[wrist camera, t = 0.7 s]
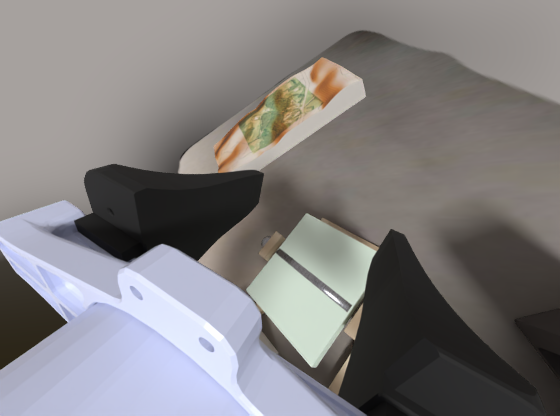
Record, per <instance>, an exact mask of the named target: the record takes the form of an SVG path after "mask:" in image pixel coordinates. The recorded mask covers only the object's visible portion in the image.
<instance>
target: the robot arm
mask: <svg viewBox="0 0 560 416" xmlns="http://www.w3.org/2000/svg"><path fill="white" fill-rule="evenodd" d="M263 176H264V173H262V172H259V171H257V170H241V171H233V172H224V173H212V174H174V173H162V172H153V171H148V170H141V169H136V168H131V167H126V166H122V165H117V164H111V165H107V166H104V167H100V168H96V169H92V170H89V171H88V172H87V173H86V175H85V178H84V183H85V188H86V192H87V195H88V198H89V201H90V204H91V208H92V211H93V212H94V213H91V214H89V215H86V216H85V214H84V213H83V211H81V210H80V209H79V208H77V207H76V206H74V205H73V204H71V203H70V202H68V201H66V200H63V201H60V202H57V203H54V204H51V205H48V206H45V207H42V208H39V209H36V210H33V211H30V212H27V213H24V214H21V215H18V216H15V217H12V218H9V219H7V220H3V221H0V250H1V251H2V253H3V254H4V256H5V257H6V258H7V260H8V261H9V263H10V264H11V266H12V267H13V269H14V270H15V271H16V272H17V273H18V274H19V275H20V276H21V277H22V278H23V279H24V280H25V281H26V282H28V283H29V284H30V285H31V286H32V287H33V288H34V289H35V290H36V291H37V292H38V293H39V294H40V295H41V296H42V297H43V298H44V299H45V300H46V301H48V303H49V304H50V305H51V306H52V307H53V308H54V309H55V310H56V311H57V312H58V313H59V314H60V315H61V316H62V317H63V318H64V319H65V320H66V321H67V322H68V323H67V324H66V325H64V326H63V327H62V328H60V329H59V330H57V331H56V332H54V333H53V334H52V335H50V336H49V337H47V338H46V339H44V340H43V341H42V342H40V343H39V344H37V345H36V346H34V347H33V348H31V349H30V350H29V351H27V352H26V353H24V354H23V355H21V356H20V357H19V358H17V359H16V360H14V361H13V362H11V363H10V364H9V365H7V366H6V367H4V368H3V369H1V370H0V416H547V414H546V412H545V409H544V407H543V405H542V402H541V400H540V397H539V395H538V393H537V390H536V388H535V387H533V386H532V385H531V384H530V383H529V382H528V381H527V380H525V379H524V378H523V377H522V376H521V375H520V374H518V373H517V372H516V371H515V370H514V369H513V368H512V367H510V366H509V365H508V364H507V363H506V362H505V361H504V360H502V359H501V358H500V357H499V356H498V355H497V354H496V353H495V352H494V351H493V350H492V349H491V348H490V347H488V346H487V345H486V344H485V343H484V342H483V341H482V340H481V339H480V338H479V337H478V336H477V335H476V334H475V333H474V332H473V331H472V330H471V329H470V328H469V327H468V326H467V325H466V323H465V322H464V321H463V320H462V319H461V318H460V317H459V316H458V315H457V314H456V312H455V311H454V310H453V309H452V308H451V307H450V305H449V304H448V303H447V302H446V301H445V299H444V298H443V297H442V295H441V294H440V293H439V292H438V290H437V289H436V288H435V286H434V285H433V283H432V282H431V280H430V279H429V277H428V276H427V274H426V273H425V271H424V269H423V268H422V266H421V265H420V263H419V261H418V259H417V257H416V256H415V254H414V252H413V250H412V248H411V246H410V244H409V243H408V241H407V239H406V237H405V235H404V234H402V233H399V232H397V231H395V230H392V229H391V230H390V231H389V233H388V235H387V236H386V238H385V239H384V241H383V242H382V244H381V245H380V247H379V249H378V250H377V252H376V253H375V255H374V256H373V258H372V261H371V264H370V267H369V271H368V274H367V280H366V287H365V293H364V300H363V307H362V313H361V318H360V323H359V327H358V330H357V334H356V338H355V341H354V345H353V348H352V351H351V355H350V358H349V362H348V365H347V368H346V371H345V374H344V378H343V381H342V384H341V387H340V390H339V393H338V395H336V394H335V393H333V392H332V391H330V390H329V389H327V388H326V387H325V386H323V385H322V384H320V383H319V382H317V381H316V380H314V379H313V378H311V377H310V376H308V375H307V374H305V373H304V372H302V371H301V370H299V369H298V368H296V367H295V366H294V365H292V364H291V363H289V362H288V361H286V360H285V359H283V358H282V357H280V356H279V355H277V354H276V353H274V352H273V351H271V350H270V349H269V348H268V347H267V346H266V345H265V344H264V343H263V342H262V341H261V340H260V339H259V336H260V333H261V330H262V319H261V313H260V311H259V309H258V307H257V306H256V304H255V303H254V301H253V299H252V298H251V297H250V296H249V295H248V294H246V293H245V292H244V291H243V290H242V289H240V288H239V287H238V286H236V285H235V284H233V283H232V282H230V281H228V280H227V279H225V278H223V277H222V276H220V275H219V274H217V273H215V272H214V271H212V270H211V269H209V268H207V267H206V266H204V265H202V264H201V263H199V262H198V260H199V259H200V258H201V257H202V256H203V255H204V254H205V252H206V251H207V250H208V249H209V248H210V247H211V246H212V245H213V244H214V243H215V242H216V241H217V240H218V239H219V238H220V237H221V236H223V235H224V234H225V233H226V232H228V231H229V230H230V229H231V228H232V227H234V226H235V225H236V224H237V223H239V222H240V221H241V220H242V219H243V218H245V217H246V216H247V215H248V214H249V213H250V212H251V211H252V210H253V209H254V208H255V207H256V205H257V204H258V203H259V198H260V192H261V187H262V182H263Z"/></svg>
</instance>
